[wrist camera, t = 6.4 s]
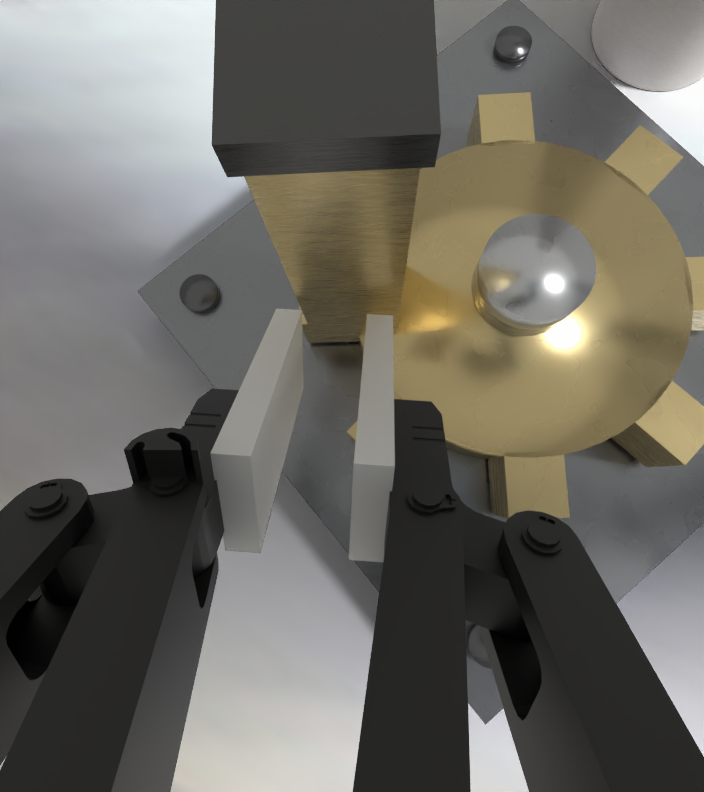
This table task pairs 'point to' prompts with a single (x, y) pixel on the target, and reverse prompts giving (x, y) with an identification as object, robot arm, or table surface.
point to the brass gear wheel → (456, 239)
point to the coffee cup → (651, 42)
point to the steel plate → (335, 368)
